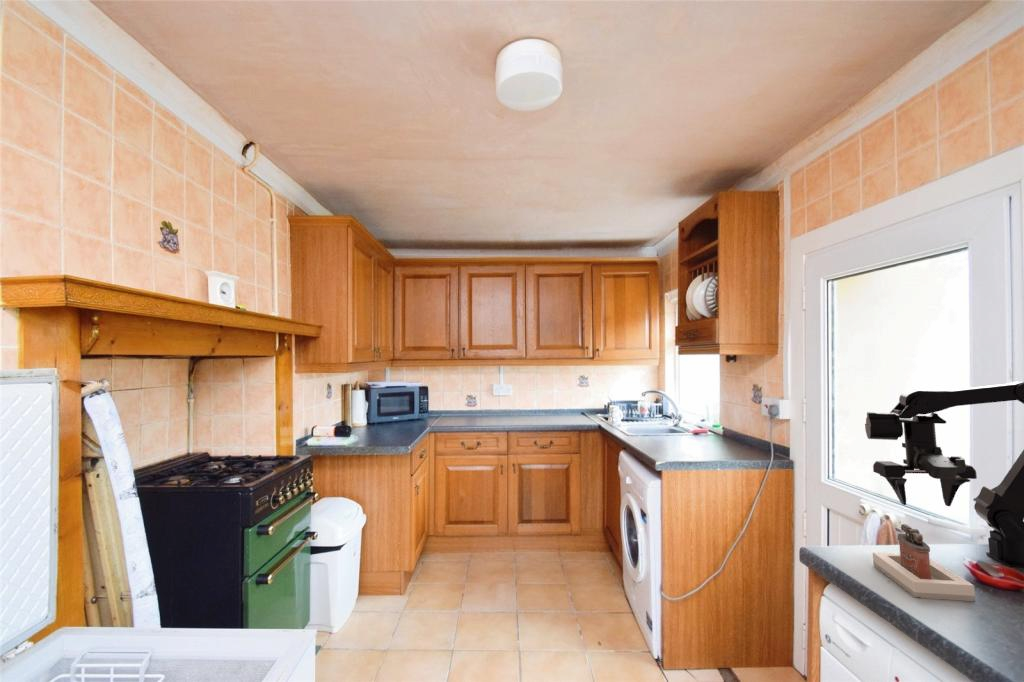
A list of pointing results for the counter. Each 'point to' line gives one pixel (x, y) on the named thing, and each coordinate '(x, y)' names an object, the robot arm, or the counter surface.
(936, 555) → the counter surface
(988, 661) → the counter surface
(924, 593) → the tray
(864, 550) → the counter surface
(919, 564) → the lighter
